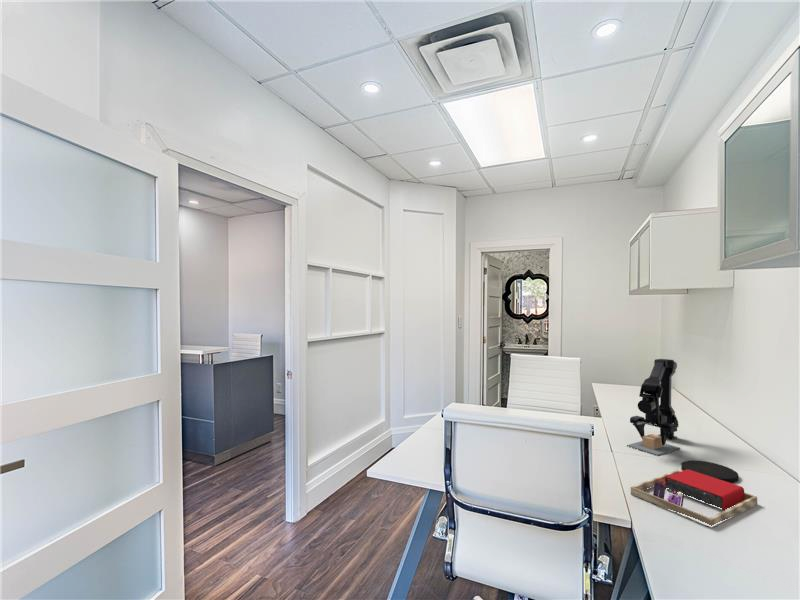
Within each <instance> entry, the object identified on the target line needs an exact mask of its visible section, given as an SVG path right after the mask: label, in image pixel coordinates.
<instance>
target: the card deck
mask: <svg viewBox="0 0 800 600" xmlns="http://www.w3.org/2000/svg"><path fill="white" fill-rule="evenodd" d="M658 435H659V434H653V433H651V434H647V435H645V436H643V439H642V441H643V446H644V447H647V448H650V449H657V448H661V447H664V445H662V440H661V436H658Z"/></svg>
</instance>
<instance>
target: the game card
mask: <svg viewBox="0 0 800 600" xmlns="http://www.w3.org/2000/svg"><path fill="white" fill-rule="evenodd" d="M666 487H667V488H669V489H668V490H667V491H668V492H669V495H668V498H667V499H666V501H669V502H671V503H674V504H676V505H679V506H681V507H683V506H684V500H685V496H684V492H681V491H679V490H676V489H673V488H671V487H668V486H665V484H664V483H663V484H660V483H657V482H655V486H654V487H653V493H652V495H654V496H657V497H659V498H661V499H664V500H665V493H666ZM677 491H678V493H677ZM682 493H683V494H682Z"/></svg>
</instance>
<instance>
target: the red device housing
mask: <svg viewBox="0 0 800 600" xmlns="http://www.w3.org/2000/svg"><path fill="white" fill-rule="evenodd" d="M680 471H681V472H678V473H676V474H673V475H670V476H667V477H665V483H664V485H665V486H668V487H671V488H673V489H676V490H679V491H681V492H684V494H685V495H688V496H691V497H694V498H696V499H698V500H702V501H704V502H705V503H708V504H712V505H715V506H717V507H720V508H722V510H725V509H727V508H730V507H732V506H734V505H737V504H739V503H741V502H743V501H744V500H745V497H744V493H745V488H744V487H743V486H740V485H739V484H735V483H729V482H726V481H723V480H720V479H717V478H714V477H710V476H707V475H704V474H701V473H698V472H695V471H692V470H689V469H687V470H684V471H683V470H680ZM666 488H667V487H666ZM677 492H678V491H677ZM705 503H704V504H705Z"/></svg>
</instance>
